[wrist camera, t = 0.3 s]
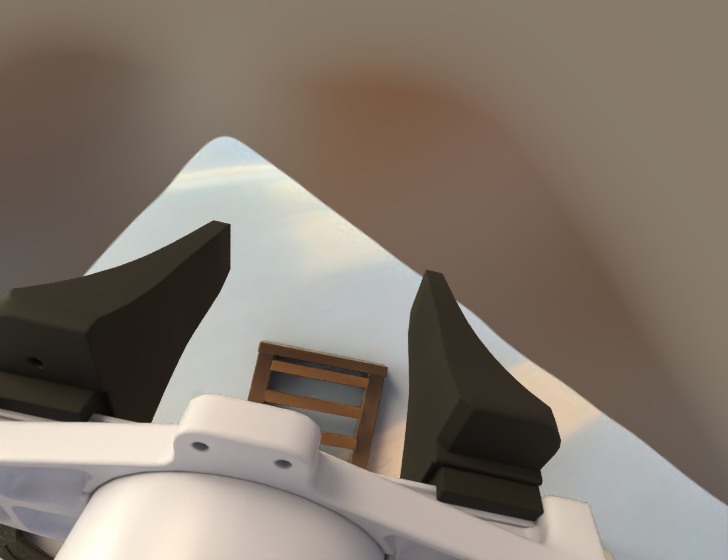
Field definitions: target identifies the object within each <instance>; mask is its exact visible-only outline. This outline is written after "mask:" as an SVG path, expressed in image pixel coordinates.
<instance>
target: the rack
mask: <svg viewBox="0 0 728 560" xmlns="http://www.w3.org/2000/svg"><path fill="white" fill-rule="evenodd" d="M258 352H259V353H258V358H257V362H256V366H255V371H254V375H253V379H252V384H251V388H250V392H249V397H248V401H251V402H256V403H260V404H265V401H266V402H272V403H277V404H282V405H288V406H293V407H299V408H304V409H309V410H315V411H320V412H326V413H331V414H336V415H342V416H347V417H352V418H358V420H357V425H356V430H355V435H354V437H352V436H347V435H341V434H336V433H330V432H325V431H320V432H321V442H320V444H325V445H331V446H336V447H342V448H348V449H352V450H351V455H350V460H349V463H351V464H353V465H355V466H358V467H360V468H362V469H365V470H366V467H367V462H368V457H369V452H370V447H371V442H372V437H373V431H374V426H375V421H376V416H377V411H378V406H379V401H380V396H381V390H382V385H383V380H384V377H386V375H387V370H388V367H386V366H385V365H383V364H379V363H374V362H369V361H364V360H359V359H354V358H349V357H344V356H339V355H334V354H329V353H324V352H319V351H314V350H309V349H304V348H299V347H294V346H289V345H284V344H279V343H274V342H269V341H261V342H260V344H259V349H258ZM276 355H277V356H282V357H287V358H292V359H297V360H302V361H307V362H312V363H318V364H323V365H328V366H333V367H338V368H343V369H348V370H353V371H358V372H363V373H367V375H366V377H362V376H357V375H352V374H347V373H342V372H336V371H331V370H326V369H321V368H316V367H311V366H306V365H301V364H296V363H290V362H285V361H280V360H275V356H276ZM272 371H277V372H283V373H288V374H293V375H298V376H303V377H309V378H314V379H319V380H324V381H329V382H334V383H340V384H345V385H350V386H355V387H360V388H364V390H363V395H362V400H361V405H360V407H359V406H353V405H348V404H343V403H337V402H332V401H327V400H322V399H316V398H311V397H306V396H300V395H295V394H290V393H284V392H279V391H274V390H268V387H269V383H270V378H271V374H272Z"/></svg>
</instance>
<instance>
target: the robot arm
mask: <svg viewBox="0 0 728 560" xmlns="http://www.w3.org/2000/svg"><path fill="white" fill-rule="evenodd" d="M229 271H230V224H227V223H223V222H219V221H214V220H213V221H211V222H210V223H208V224H206V225H204V226H202V227H201V228H199V229H197V230H195V231H193V232H192V233H190V234H188V235H186V236H184V237H183V238H181V239H179V240H177V241H175V242H173V243H171V244H169V245H167V246H165V247H163V248H161V249H159V250H157V251H155V252H153V253H151V254H149V255H146V256H144V257H142V258H139V259H137V260H134V261H132V262H129V263H126V264H123V265H121V266H118V267H115V268H111V269H108V270H105V271H101V272H98V273H94V274H91V275H87V276H83V277H79V278H75V279H70V280H65V281H60V282H55V283H49V284H43V285H36V286H29V287H23V288H14V289H12V290H11V291H9V292H8V293H7V294H6V295H4V296H3V297H2V298H1V299H0V523H1V524H4V525H7V526H10V527H14V528H17V529H20V530H23V531H27V532H30V533H33V534H36V535H39V536H43V537H46V538H49V539H52V540H56V541H59V542H62V543H64V544H63V545H62V547H61V549H60V550H59V552H58V554H57V555H56V557H55V559H54V560H606V558H605V554H604V551H603V547H602V544H601V541H600V537H599V534H598V531H597V527H596V524H595V521H594V517H593V514H592V511H591V507H590V505H589V504H588V503H585V502H581V501H576V500H571V499H567V498H562V497H557V496H544V497H542V498H541V496H540V491H539V486H540V485H541V484H542V481H543V480H542V476H541V471H540V470H541V469H542V467H543V466H544V465H545V464H546V463H547V462H548V461H549V460H550V459H551V458H552V457H553V456H554V455H555V454H556V452H557V451H558V449H559V448H560V443H561V439H560V435H559V432H558V428H557V424H556V421H555V418H554V415H553V413H552V410H551V408H550V407H549V406H548V405H546V404H545V403H544V402H542V401H541V400H540V399H539V398H537V397H536V396H535V395H533V394H532V393H531V392H530V391H528V390H527V389H526V388H525V387H524V386H523V385H522V384H520V383H519V382H518V381H517V380H516V379H515V378H514V377H513V376H512V375H511V374H510V373H509V372H508V371H507V370H506V369H505V368H504V367H503V366H502V365H501V364H500V363H499V362H498V361H497V360H496V359H495V358H494V356H493V355H492V354H491V353H490V352H489V351H488V349H487V348H486V347H485V345H484V344H483V343H482V342H481V340H480V339H479V338H478V336H477V335H476V334H475V332H474V331H473V329H472V328H471V326H470V325H469V323H468V321H467V320H466V318H465V316H464V315H463V313H462V311H461V309H460V307H459V306H458V304H457V302H456V300H455V298H454V296H453V294H452V292H451V290H450V288H449V286H448V284H447V282H446V280H445V278H444V276H443V274H442V273H438V272H434V271H430V270H426V271H425V274H424V276H423V279H422V282H421V284H420V287H419V290H418V292H417V295H416V298H415V300H414V303H413V306H412V308H411V313H410V321H409V331H408V354H409V400H408V412H407V422H406V432H405V442H404V450H403V459H402V467H401V475H400V478H396V477H391V476H386V475H382V474H377V473H372V472H369V471H367V470H365V469H362V468H360V467H358V466H355V465H353V464H351V463H348V462H346V461H344V460H341V459H339V458H337V457H334V456H332V455H330V454H327V453H325V452H322V451H320V450H319V446H320V442H321V432H320V427H319V426H318V425H317V424H316V423H315V422H314V421H313V420H312V419H310V418H309V417H308V416H306V415H303V414H301V413H298V412H296V411H292V410H288V409H283V408H279V407H274V406H269V405H265V404H260V403H256V402H251V401H246V400H242V399H237V398H233V397H228V396H223V395H212V394H205V395H202V396H199V397H197V398H194V399H192V400H191V402H190V404H189V406H188V408H187V410H186V411H185V413H184V415H183V417H182V419H181V421H180V423H151V422H152V420H153V417H154V415H155V413H156V410H157V408H158V406H159V403H160V401H161V399H162V396H163V394H164V392H165V389H166V387H167V385H168V383H169V381H170V378H171V376H172V374H173V372H174V370H175V368H176V366H177V364H178V361H179V359H180V357H181V355H182V353H183V351H184V349H185V347H186V345H187V344H188V342H189V340H190V338H191V337H192V335H193V333H194V332H195V330H196V329H197V327H198V326H199V324H200V323H201V321H202V319H203V318H204V316H205V315H206V313H207V312H208V310H209V309H210V307H211V305H212V304H213V302H214V301H215V299H216V297H217V296H218V294H219V293H220V291H221V289H222V287H223V285H224V282H225V280H226V278H227V276H228V273H229Z"/></svg>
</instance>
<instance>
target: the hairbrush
mask: <svg viewBox="0 0 728 560" xmlns="http://www.w3.org/2000/svg"><path fill="white" fill-rule="evenodd" d="M0 557H1V558H2V559H4V560H54V559H55V558H52V557H51V556H50V555H48V554H47V553H45V552H44V551H42V550H41V549H40V548H38V547H37V546H35V545H34V544H33V543H31V542H30V541H28V540H27V539H25V538H24V537H23V533H22V530H20V529H17V528H14V527H10V526H7V525H4V524H1V523H0Z"/></svg>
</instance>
